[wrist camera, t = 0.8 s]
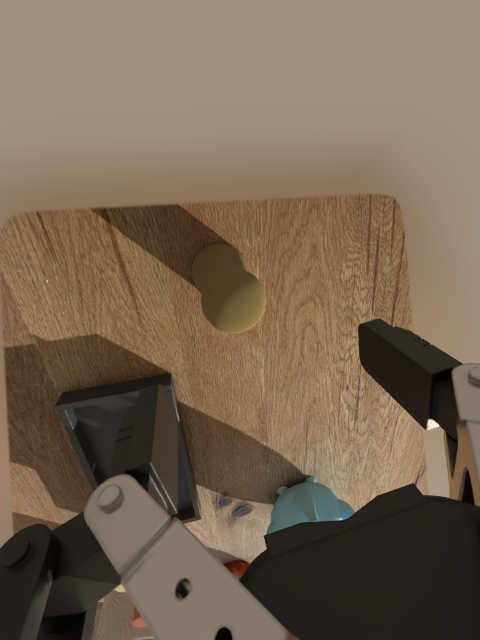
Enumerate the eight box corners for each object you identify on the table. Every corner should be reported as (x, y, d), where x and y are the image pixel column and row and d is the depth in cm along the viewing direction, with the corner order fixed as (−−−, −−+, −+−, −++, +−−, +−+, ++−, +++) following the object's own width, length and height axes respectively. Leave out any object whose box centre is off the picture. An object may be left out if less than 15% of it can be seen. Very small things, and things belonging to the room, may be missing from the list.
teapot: (302, 524, 55) (327, 591, 46) (245, 510, 50) (260, 583, 41) (346, 478, 52) (382, 540, 43) (289, 459, 47) (316, 525, 38)
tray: (62, 392, 34) (54, 405, 32) (171, 373, 36) (170, 384, 34) (118, 524, 45) (116, 540, 43) (200, 504, 47) (201, 519, 45)
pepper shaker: (233, 304, 34) (257, 353, 24) (183, 287, 32) (186, 332, 22) (255, 255, 32) (289, 286, 22) (202, 234, 30) (215, 257, 20)
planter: (168, 538, 49) (166, 626, 39) (189, 575, 55) (192, 660, 45) (94, 563, 48) (73, 660, 38) (123, 598, 53) (110, 690, 44)
